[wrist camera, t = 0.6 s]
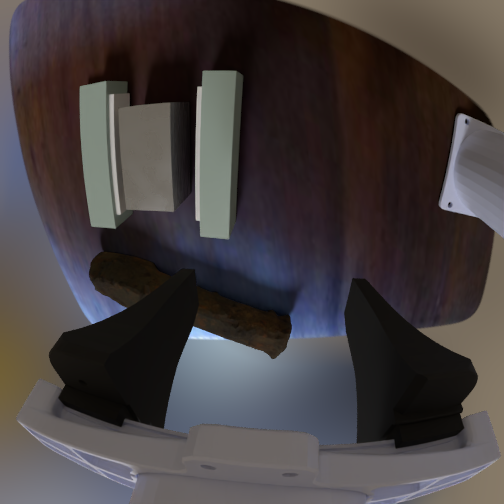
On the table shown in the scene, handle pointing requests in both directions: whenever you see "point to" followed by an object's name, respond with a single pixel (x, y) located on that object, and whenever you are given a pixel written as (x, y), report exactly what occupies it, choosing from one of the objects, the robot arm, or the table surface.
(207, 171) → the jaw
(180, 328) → the robot arm
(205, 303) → the brown wooden log
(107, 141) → the pale green bar
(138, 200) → the block
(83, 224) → the table surface
